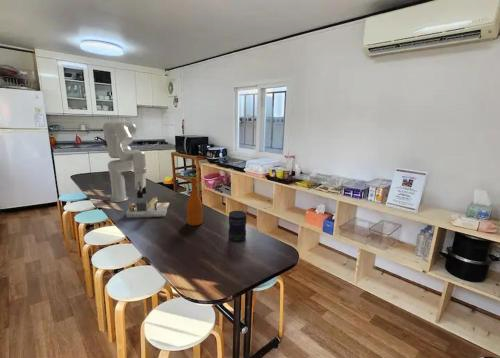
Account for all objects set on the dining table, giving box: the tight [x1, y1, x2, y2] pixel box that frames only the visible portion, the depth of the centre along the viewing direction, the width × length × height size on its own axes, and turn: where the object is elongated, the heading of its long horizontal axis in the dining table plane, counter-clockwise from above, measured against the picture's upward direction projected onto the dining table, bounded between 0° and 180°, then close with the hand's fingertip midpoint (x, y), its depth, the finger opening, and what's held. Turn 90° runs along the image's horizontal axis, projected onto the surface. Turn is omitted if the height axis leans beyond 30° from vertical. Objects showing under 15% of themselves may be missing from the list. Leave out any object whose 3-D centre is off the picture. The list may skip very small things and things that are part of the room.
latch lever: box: [148, 196, 158, 208], centre depth 162 cm, size 15×2×2 cm, turn 6°
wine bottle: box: [185, 176, 204, 227], centre depth 155 cm, size 10×10×30 cm
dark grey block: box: [135, 200, 149, 211], centre depth 168 cm, size 6×5×5 cm
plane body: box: [126, 201, 168, 219], centre depth 169 cm, size 24×9×9 cm, turn 100°
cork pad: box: [153, 202, 170, 209], centre depth 186 cm, size 11×11×1 cm
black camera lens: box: [228, 210, 247, 244], centre depth 138 cm, size 10×10×15 cm
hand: (141, 195), depth 166 cm, fingers open, 9 cm apart
